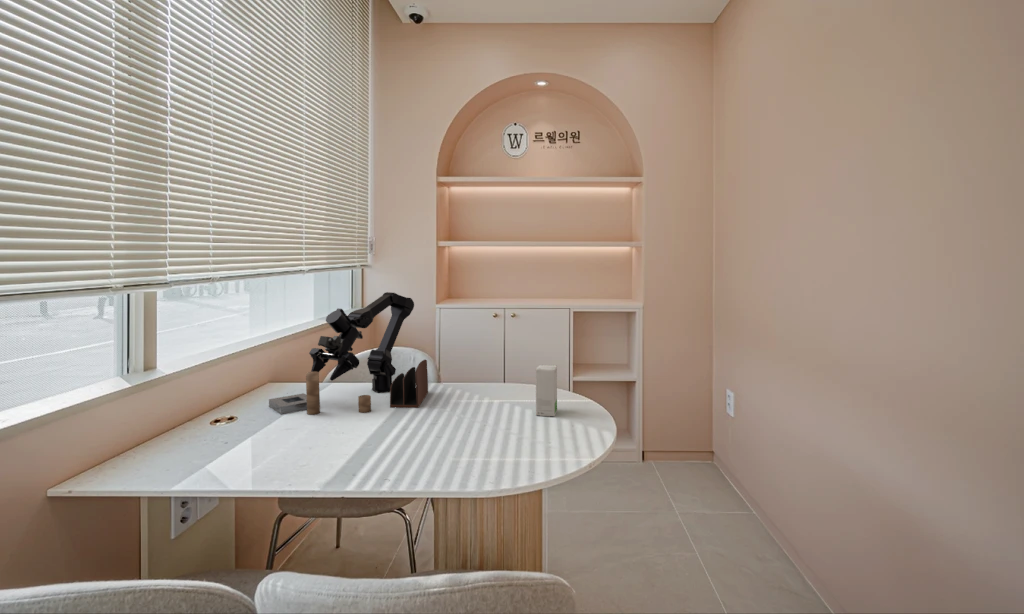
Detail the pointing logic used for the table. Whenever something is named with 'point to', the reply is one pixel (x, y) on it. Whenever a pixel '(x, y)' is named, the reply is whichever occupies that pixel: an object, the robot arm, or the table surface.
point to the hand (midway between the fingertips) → (321, 378)
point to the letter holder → (410, 387)
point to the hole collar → (289, 403)
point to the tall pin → (312, 393)
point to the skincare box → (546, 390)
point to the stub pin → (364, 403)
